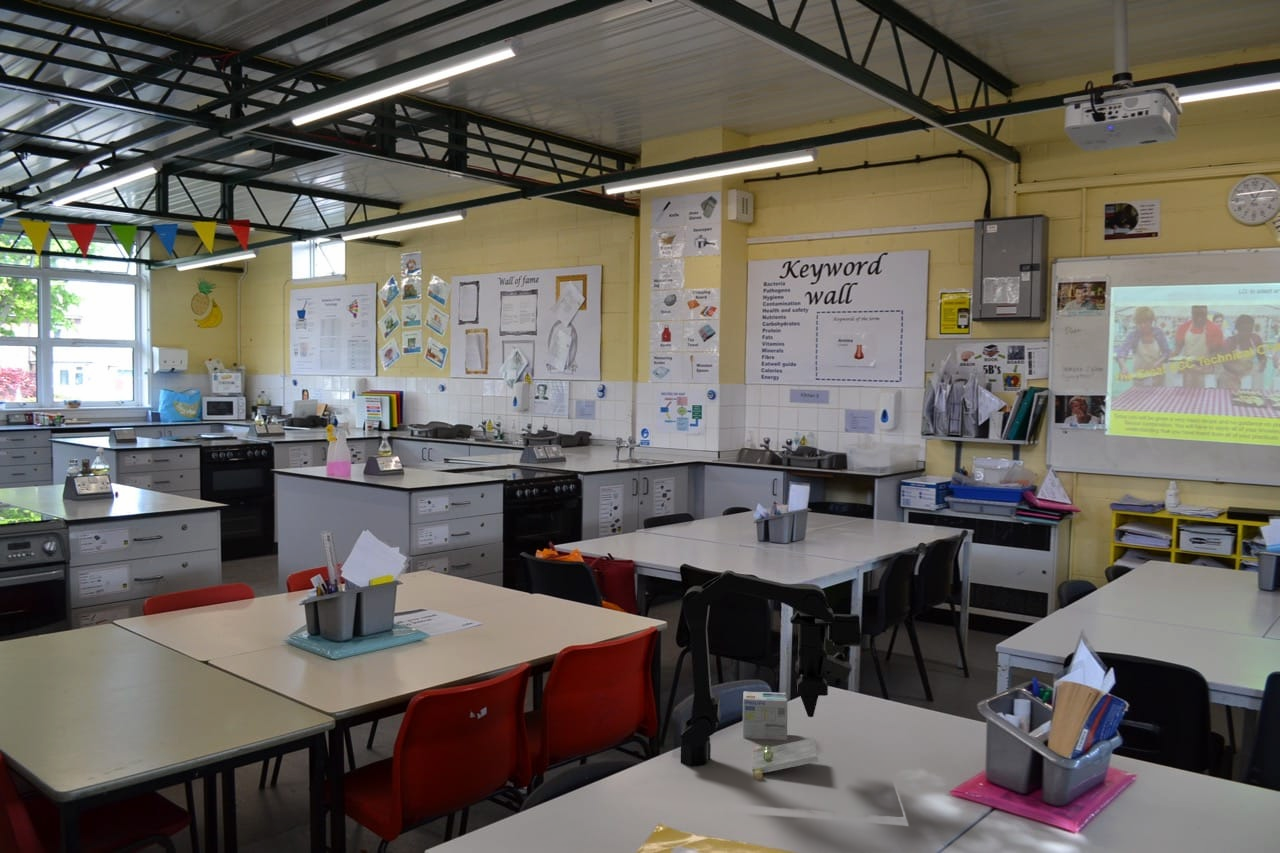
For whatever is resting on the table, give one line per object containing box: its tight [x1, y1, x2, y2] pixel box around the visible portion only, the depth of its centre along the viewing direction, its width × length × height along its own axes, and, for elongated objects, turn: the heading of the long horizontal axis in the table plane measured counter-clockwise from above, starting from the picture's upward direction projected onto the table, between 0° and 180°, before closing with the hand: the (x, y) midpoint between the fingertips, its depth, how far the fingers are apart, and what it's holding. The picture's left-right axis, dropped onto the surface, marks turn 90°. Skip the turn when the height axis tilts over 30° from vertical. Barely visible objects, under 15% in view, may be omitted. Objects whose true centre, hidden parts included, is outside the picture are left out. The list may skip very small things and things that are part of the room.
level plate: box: [751, 737, 819, 776], centre depth 199 cm, size 14×11×3 cm
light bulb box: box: [742, 690, 788, 741], centre depth 219 cm, size 11×7×11 cm, turn 84°
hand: (810, 715), depth 198 cm, fingers closed
